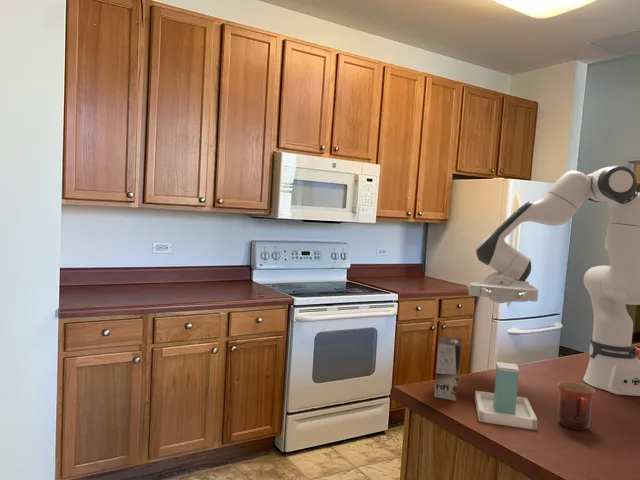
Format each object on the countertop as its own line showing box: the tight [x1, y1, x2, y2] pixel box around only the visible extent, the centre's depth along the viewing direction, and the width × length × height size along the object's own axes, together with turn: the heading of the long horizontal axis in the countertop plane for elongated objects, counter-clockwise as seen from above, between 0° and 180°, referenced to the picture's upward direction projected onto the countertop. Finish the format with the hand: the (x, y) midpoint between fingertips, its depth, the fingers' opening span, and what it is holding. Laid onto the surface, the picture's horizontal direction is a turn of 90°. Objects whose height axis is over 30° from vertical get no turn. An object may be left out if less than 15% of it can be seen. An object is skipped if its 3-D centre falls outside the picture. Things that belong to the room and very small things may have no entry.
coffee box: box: [433, 336, 462, 402], centre depth 144 cm, size 9×6×16 cm
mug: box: [557, 380, 597, 431], centre depth 125 cm, size 12×9×10 cm
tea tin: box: [493, 361, 520, 415], centre depth 132 cm, size 5×5×12 cm
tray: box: [474, 390, 539, 431], centre depth 132 cm, size 14×16×2 cm
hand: (505, 295), depth 145 cm, fingers open, 8 cm apart
